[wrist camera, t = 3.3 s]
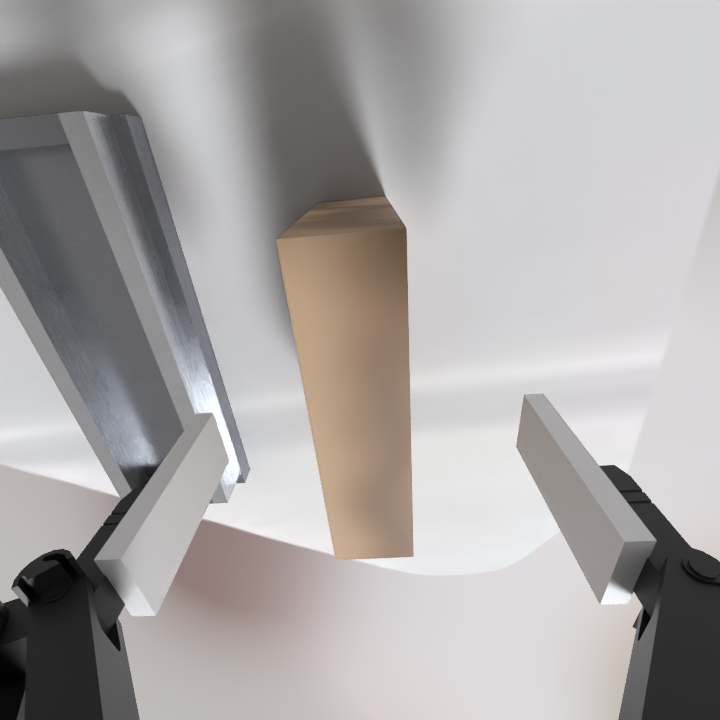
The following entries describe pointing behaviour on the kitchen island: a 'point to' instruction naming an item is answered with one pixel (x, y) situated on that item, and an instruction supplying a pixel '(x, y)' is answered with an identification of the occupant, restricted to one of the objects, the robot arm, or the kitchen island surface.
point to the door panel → (355, 367)
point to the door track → (108, 291)
